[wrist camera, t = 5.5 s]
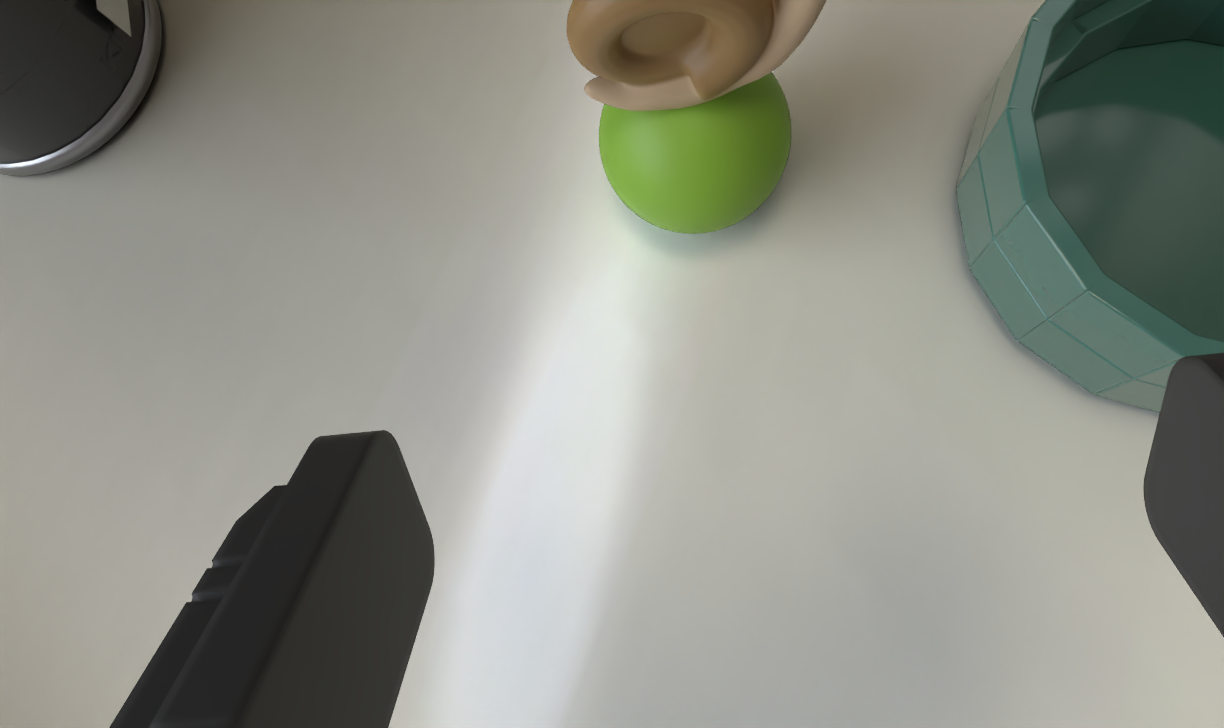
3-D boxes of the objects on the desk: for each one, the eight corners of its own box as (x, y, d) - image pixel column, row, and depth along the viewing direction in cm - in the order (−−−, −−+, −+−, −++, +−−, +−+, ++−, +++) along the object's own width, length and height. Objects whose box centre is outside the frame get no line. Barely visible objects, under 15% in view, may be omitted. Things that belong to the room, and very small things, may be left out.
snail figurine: (834, 233, 25) (912, -22, 14) (627, 273, 26) (536, 63, 15) (799, 75, 27) (843, -282, 15) (602, 118, 27) (500, -192, 16)
